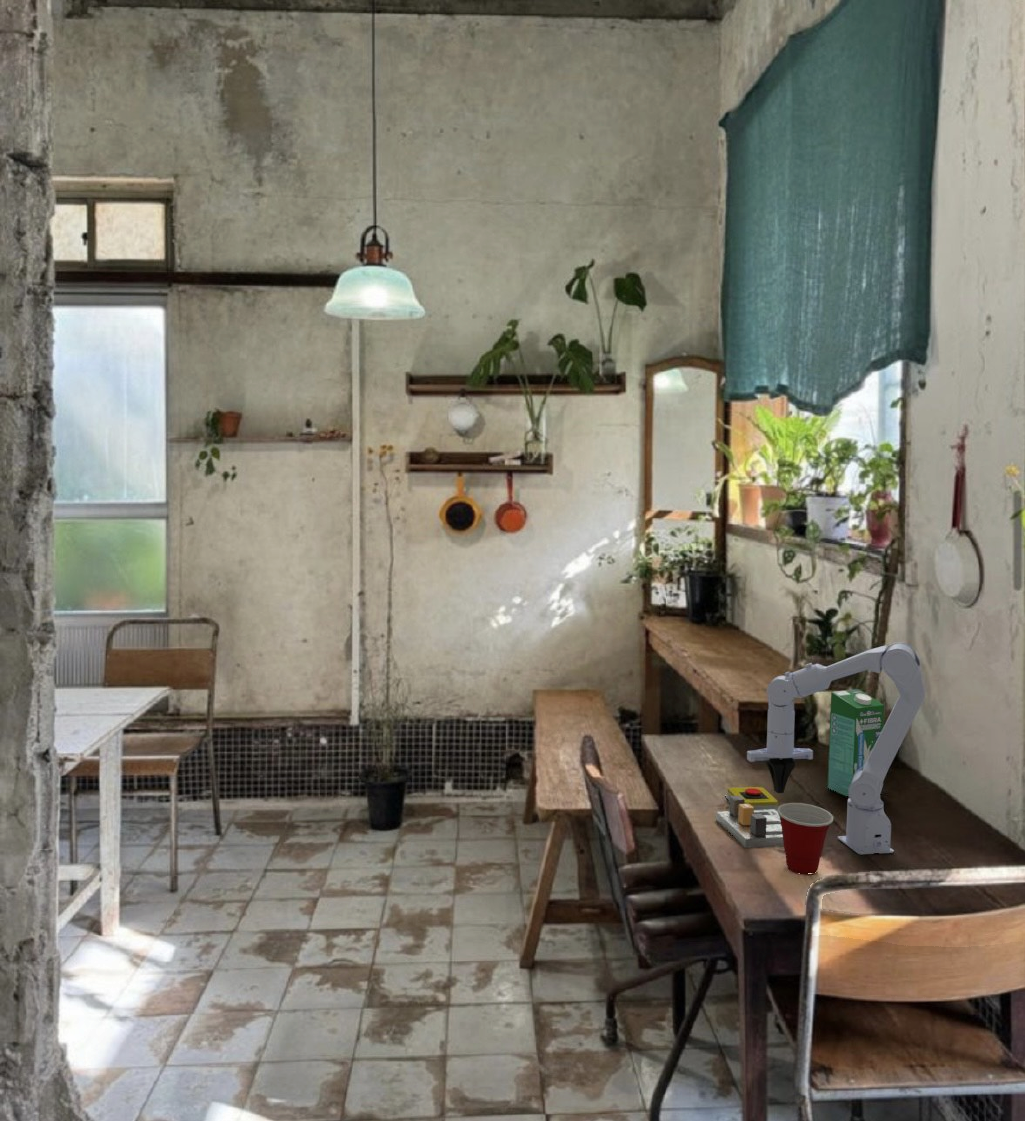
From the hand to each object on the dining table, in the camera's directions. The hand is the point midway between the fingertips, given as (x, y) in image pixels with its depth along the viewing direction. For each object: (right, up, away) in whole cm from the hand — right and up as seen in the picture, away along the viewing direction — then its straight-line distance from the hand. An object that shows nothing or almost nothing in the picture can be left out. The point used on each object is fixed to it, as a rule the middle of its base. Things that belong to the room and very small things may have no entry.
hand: (778, 791), depth 216 cm
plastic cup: (-1, -11, -20) cm, 23 cm away
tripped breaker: (-7, -7, -1) cm, 10 cm away
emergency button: (-2, -8, +18) cm, 20 cm away
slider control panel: (-4, -9, 0) cm, 10 cm away
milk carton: (+27, -7, +29) cm, 40 cm away
